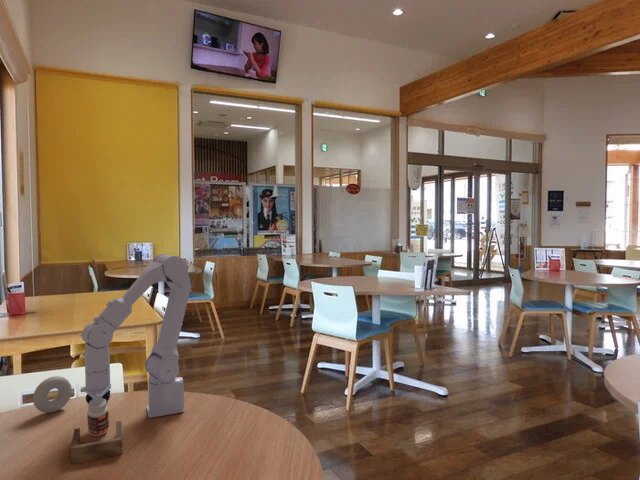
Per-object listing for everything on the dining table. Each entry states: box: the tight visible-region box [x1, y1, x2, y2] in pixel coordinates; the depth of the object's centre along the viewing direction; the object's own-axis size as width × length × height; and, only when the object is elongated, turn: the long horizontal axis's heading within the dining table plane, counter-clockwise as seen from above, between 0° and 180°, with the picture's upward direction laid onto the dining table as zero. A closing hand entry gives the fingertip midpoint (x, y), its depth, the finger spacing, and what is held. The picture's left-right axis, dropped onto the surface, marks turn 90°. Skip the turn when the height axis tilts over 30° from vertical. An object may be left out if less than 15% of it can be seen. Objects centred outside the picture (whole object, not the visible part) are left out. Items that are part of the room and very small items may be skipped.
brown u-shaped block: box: [70, 420, 123, 465], centre depth 107 cm, size 10×10×4 cm
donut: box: [32, 375, 73, 414], centre depth 128 cm, size 10×3×10 cm, turn 143°
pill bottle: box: [86, 398, 110, 437], centre depth 114 cm, size 5×5×8 cm
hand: (98, 421), depth 117 cm, fingers closed
